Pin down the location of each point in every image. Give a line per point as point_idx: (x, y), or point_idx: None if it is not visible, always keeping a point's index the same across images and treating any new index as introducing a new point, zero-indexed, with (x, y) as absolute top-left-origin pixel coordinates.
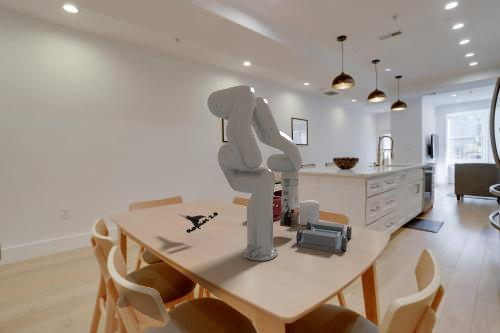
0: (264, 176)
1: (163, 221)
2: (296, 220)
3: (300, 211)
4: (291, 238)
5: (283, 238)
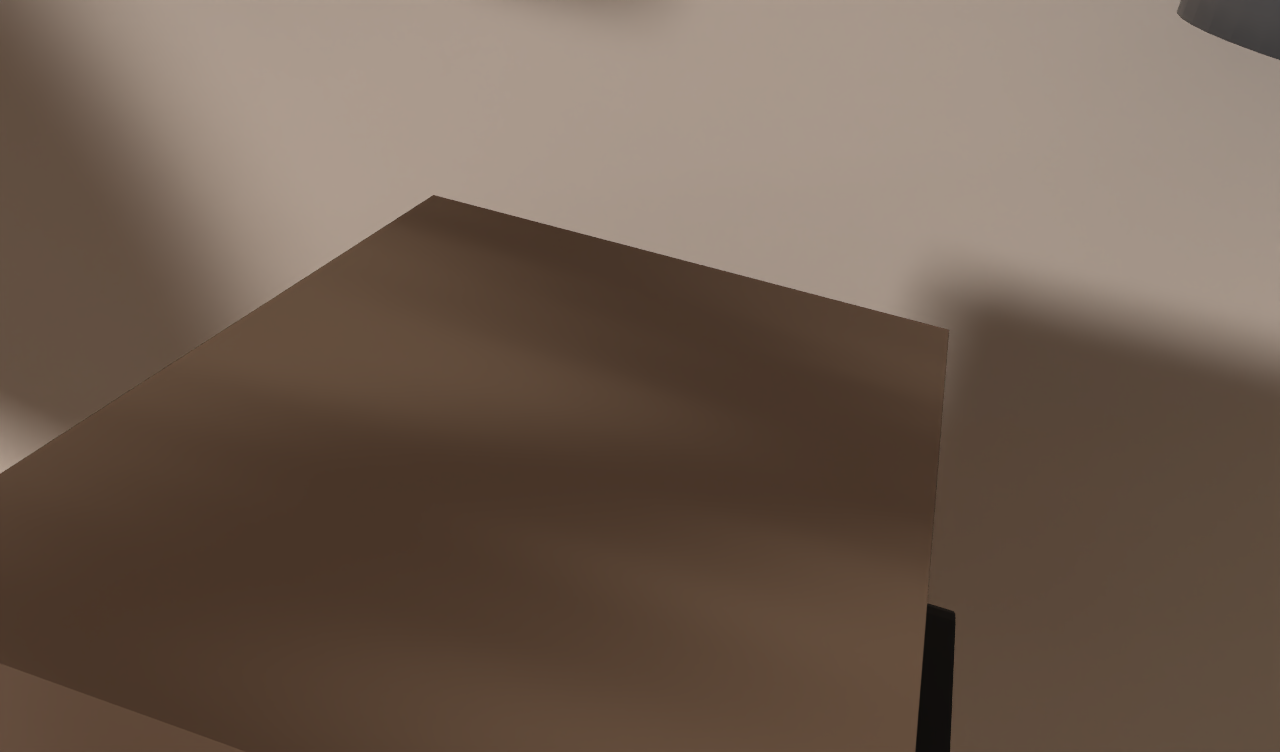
0: None
1: None
2: (709, 457)
3: None
4: (949, 312)
5: (992, 546)
